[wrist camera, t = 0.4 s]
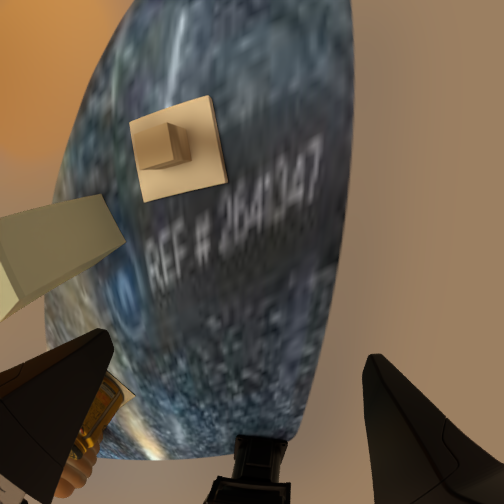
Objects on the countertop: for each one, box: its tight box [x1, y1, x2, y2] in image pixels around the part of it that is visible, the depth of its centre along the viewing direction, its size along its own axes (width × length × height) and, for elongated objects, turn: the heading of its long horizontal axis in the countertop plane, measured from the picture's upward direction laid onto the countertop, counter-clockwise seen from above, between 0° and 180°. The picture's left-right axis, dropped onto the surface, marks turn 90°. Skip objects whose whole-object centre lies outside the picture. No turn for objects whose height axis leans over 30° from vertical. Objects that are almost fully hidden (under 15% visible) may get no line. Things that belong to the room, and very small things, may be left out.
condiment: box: [69, 371, 135, 460], centre depth 25 cm, size 7×8×12 cm
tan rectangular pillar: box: [0, 194, 126, 322], centre depth 18 cm, size 5×5×13 cm
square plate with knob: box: [129, 96, 228, 202], centre depth 19 cm, size 7×7×4 cm
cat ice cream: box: [54, 433, 103, 498], centre depth 26 cm, size 9×8×18 cm
